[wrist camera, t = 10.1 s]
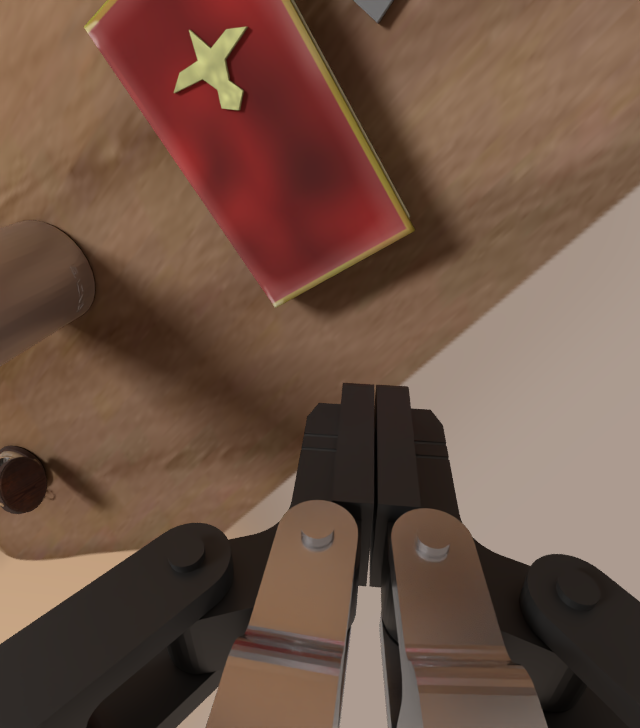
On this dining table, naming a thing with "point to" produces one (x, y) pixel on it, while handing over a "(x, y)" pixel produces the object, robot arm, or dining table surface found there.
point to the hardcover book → (257, 132)
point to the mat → (375, 7)
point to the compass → (21, 480)
